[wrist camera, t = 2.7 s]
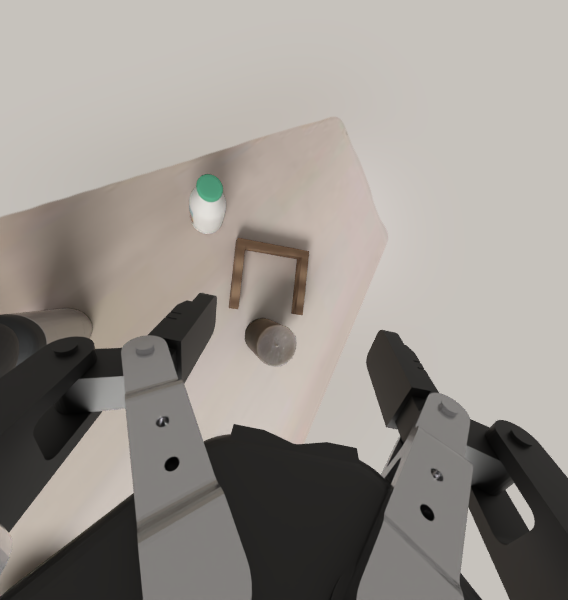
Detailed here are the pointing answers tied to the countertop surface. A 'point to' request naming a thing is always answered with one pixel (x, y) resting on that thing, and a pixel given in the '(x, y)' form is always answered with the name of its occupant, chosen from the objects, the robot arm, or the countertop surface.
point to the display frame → (273, 250)
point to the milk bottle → (207, 204)
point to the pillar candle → (270, 341)
